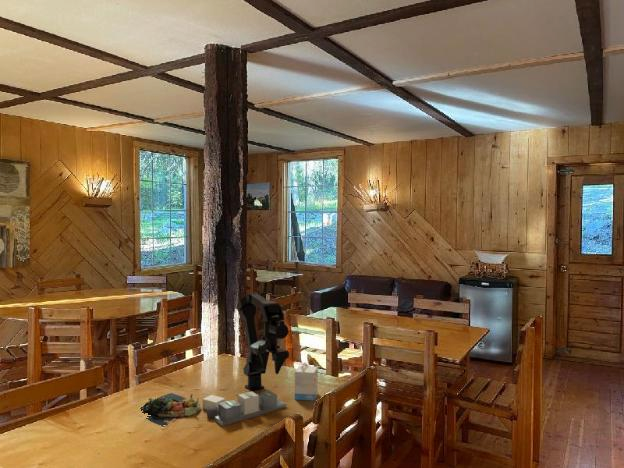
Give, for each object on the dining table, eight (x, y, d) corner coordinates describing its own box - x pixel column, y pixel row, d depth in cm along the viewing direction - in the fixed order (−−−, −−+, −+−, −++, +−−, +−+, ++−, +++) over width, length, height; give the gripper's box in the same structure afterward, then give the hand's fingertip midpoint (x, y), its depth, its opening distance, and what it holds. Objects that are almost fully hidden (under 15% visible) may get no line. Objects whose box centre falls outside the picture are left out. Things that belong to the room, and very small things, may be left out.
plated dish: (229, 410, 178) (229, 391, 178) (170, 439, 155) (169, 417, 155) (172, 391, 198) (171, 374, 198) (112, 414, 175) (111, 395, 175)
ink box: (314, 401, 186) (314, 368, 185) (294, 399, 187) (294, 367, 187) (318, 393, 194) (318, 362, 194) (298, 392, 196) (299, 361, 195)
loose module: (238, 410, 172) (238, 394, 172) (251, 406, 176) (251, 390, 176) (244, 414, 169) (244, 398, 168) (258, 410, 172) (258, 394, 172)
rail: (214, 420, 167) (214, 403, 167) (277, 402, 184) (278, 387, 184) (222, 426, 162) (222, 409, 162) (286, 407, 180) (286, 391, 179)
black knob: (205, 416, 170) (205, 408, 170) (214, 413, 173) (213, 405, 173) (211, 419, 168) (211, 411, 168) (220, 416, 171) (220, 408, 171)
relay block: (202, 408, 178) (202, 398, 178) (211, 404, 182) (211, 394, 182) (215, 413, 174) (215, 402, 174) (224, 408, 178) (224, 398, 178)
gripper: (242, 331, 188) (242, 368, 189) (266, 341, 174) (266, 381, 174) (264, 327, 195) (264, 363, 196) (290, 336, 181) (289, 375, 181)
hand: (270, 371), depth 186 cm, fingers open, 9 cm apart
